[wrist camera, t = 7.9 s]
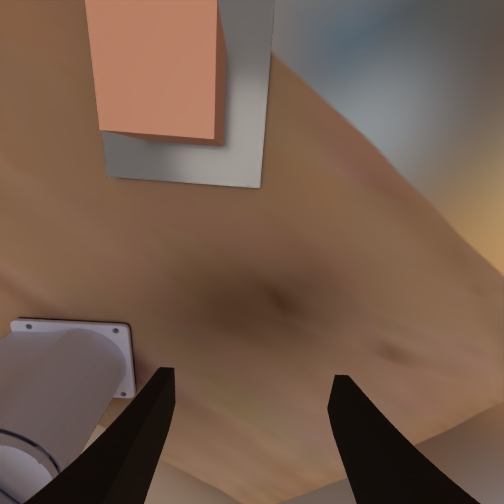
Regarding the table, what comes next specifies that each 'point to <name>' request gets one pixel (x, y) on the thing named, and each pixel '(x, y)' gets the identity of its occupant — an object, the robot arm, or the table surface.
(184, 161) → the slate tile
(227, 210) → the table surface
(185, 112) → the clay cube
